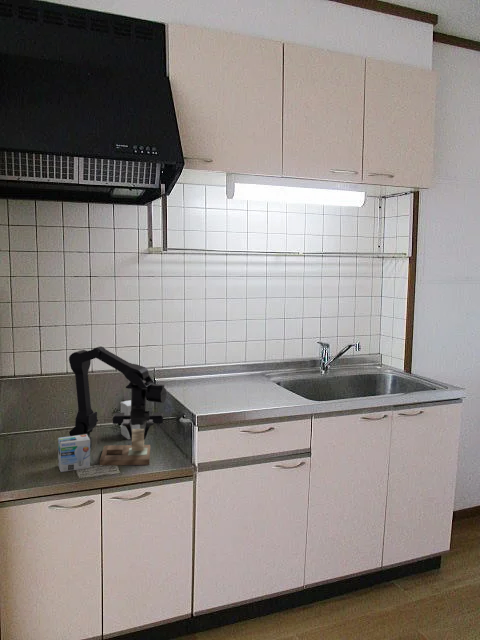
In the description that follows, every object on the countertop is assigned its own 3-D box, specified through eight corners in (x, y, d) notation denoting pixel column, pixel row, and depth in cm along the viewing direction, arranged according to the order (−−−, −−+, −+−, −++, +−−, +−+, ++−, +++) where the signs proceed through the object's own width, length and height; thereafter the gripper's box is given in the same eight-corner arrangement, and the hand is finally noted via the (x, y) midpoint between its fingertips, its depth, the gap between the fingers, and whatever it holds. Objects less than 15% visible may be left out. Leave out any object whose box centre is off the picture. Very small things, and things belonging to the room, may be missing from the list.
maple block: (131, 450, 199) (131, 432, 198) (132, 446, 203) (132, 429, 202) (143, 450, 199) (143, 432, 198) (144, 446, 204) (144, 428, 203)
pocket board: (99, 465, 192) (99, 459, 192) (104, 450, 207) (104, 444, 207) (149, 464, 195) (149, 458, 195) (150, 449, 210) (150, 444, 209)
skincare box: (140, 437, 223) (140, 403, 221) (127, 440, 219) (127, 405, 218) (132, 431, 230) (133, 399, 228) (119, 434, 226) (120, 400, 225)
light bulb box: (60, 472, 185) (60, 443, 184) (57, 465, 191) (57, 437, 190) (91, 468, 190) (91, 439, 189) (87, 461, 196) (87, 433, 195)
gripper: (111, 406, 190) (111, 447, 192) (163, 406, 192) (162, 446, 194) (114, 398, 201) (114, 437, 202) (163, 397, 203) (162, 436, 205)
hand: (138, 439), depth 201 cm, fingers closed on maple block, 4 cm apart
